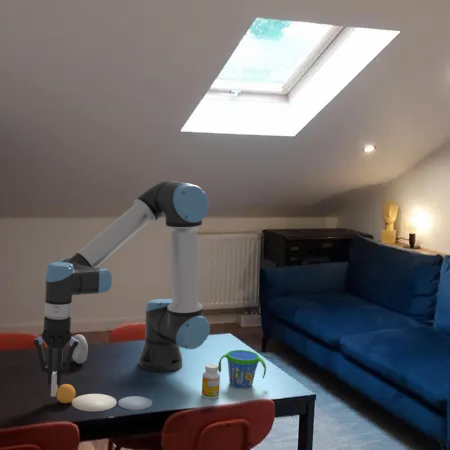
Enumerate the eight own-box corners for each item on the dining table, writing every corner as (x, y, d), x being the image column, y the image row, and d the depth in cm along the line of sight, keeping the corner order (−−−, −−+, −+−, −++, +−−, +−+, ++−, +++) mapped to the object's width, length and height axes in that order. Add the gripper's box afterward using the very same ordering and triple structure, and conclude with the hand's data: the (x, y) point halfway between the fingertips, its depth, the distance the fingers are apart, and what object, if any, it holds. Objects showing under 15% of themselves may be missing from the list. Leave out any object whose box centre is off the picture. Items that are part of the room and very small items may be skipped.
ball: (66, 402, 205) (80, 389, 205) (64, 410, 199) (78, 397, 199) (53, 390, 204) (66, 377, 204) (51, 397, 198) (65, 384, 198)
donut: (89, 366, 233) (90, 338, 232) (79, 368, 231) (80, 339, 230) (78, 357, 242) (78, 330, 240) (68, 359, 240) (69, 331, 238)
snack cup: (268, 383, 228) (270, 353, 226) (260, 394, 218) (262, 363, 216) (223, 375, 232) (225, 346, 231) (213, 386, 222) (215, 355, 221)
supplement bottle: (201, 392, 216) (202, 362, 215) (218, 392, 217) (220, 363, 215) (201, 398, 211) (203, 368, 210) (219, 399, 211) (221, 368, 210)
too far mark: (152, 397, 210) (152, 396, 210) (152, 410, 200) (152, 409, 200) (118, 396, 209) (118, 396, 209) (117, 409, 199) (117, 409, 199)
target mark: (117, 394, 210) (117, 394, 210) (115, 411, 197) (115, 411, 197) (74, 394, 209) (74, 393, 209) (69, 411, 196) (69, 410, 196)
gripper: (32, 318, 194) (29, 398, 197) (79, 320, 195) (75, 400, 198) (36, 311, 201) (33, 389, 204) (81, 313, 203) (77, 390, 206)
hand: (53, 394), depth 201 cm, fingers closed
